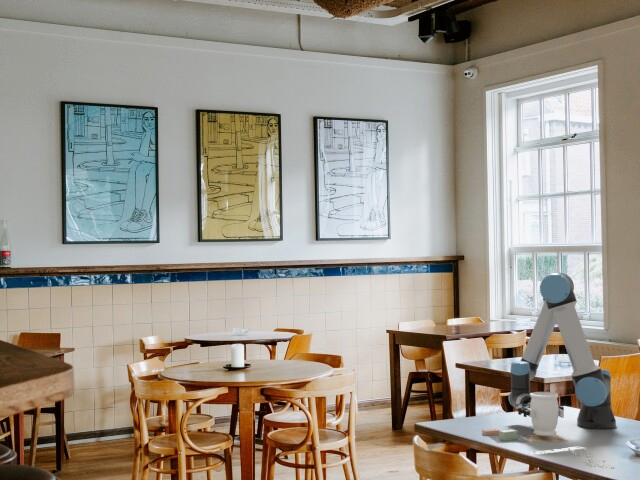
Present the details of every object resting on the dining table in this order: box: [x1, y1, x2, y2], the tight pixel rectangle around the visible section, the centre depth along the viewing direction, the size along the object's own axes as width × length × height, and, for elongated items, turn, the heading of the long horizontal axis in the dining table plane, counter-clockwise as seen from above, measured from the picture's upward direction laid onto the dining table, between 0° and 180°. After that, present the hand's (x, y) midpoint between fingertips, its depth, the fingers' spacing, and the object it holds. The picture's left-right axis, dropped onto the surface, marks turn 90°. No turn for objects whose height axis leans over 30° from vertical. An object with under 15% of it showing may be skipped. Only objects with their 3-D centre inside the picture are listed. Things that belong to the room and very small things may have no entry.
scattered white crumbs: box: [567, 447, 615, 470], centre depth 278 cm, size 7×25×2 cm, turn 1°
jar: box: [530, 391, 559, 436], centre depth 307 cm, size 11×10×15 cm
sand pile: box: [522, 433, 568, 443], centre depth 307 cm, size 13×12×1 cm
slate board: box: [488, 434, 530, 444], centre depth 306 cm, size 12×12×1 cm
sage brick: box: [498, 429, 518, 440], centre depth 306 cm, size 6×3×3 cm, turn 114°
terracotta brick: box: [481, 428, 501, 437], centre depth 314 cm, size 6×3×3 cm, turn 106°
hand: (548, 414), depth 303 cm, fingers closed on jar, 10 cm apart
